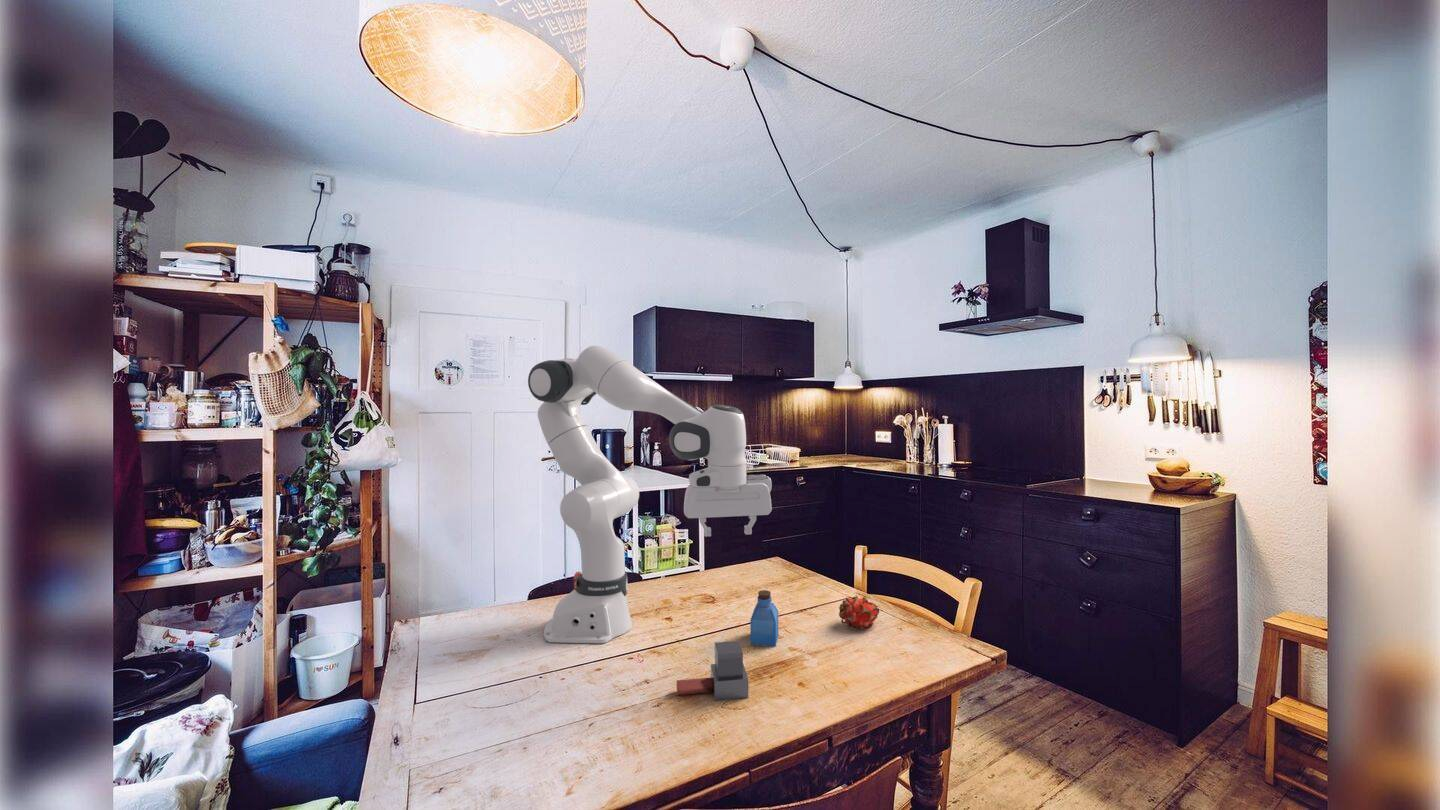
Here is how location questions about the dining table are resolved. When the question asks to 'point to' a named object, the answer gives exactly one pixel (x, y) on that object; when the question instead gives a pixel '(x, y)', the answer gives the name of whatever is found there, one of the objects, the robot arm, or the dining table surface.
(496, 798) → the dining table surface
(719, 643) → the grey block
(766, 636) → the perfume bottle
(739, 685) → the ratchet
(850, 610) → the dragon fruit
